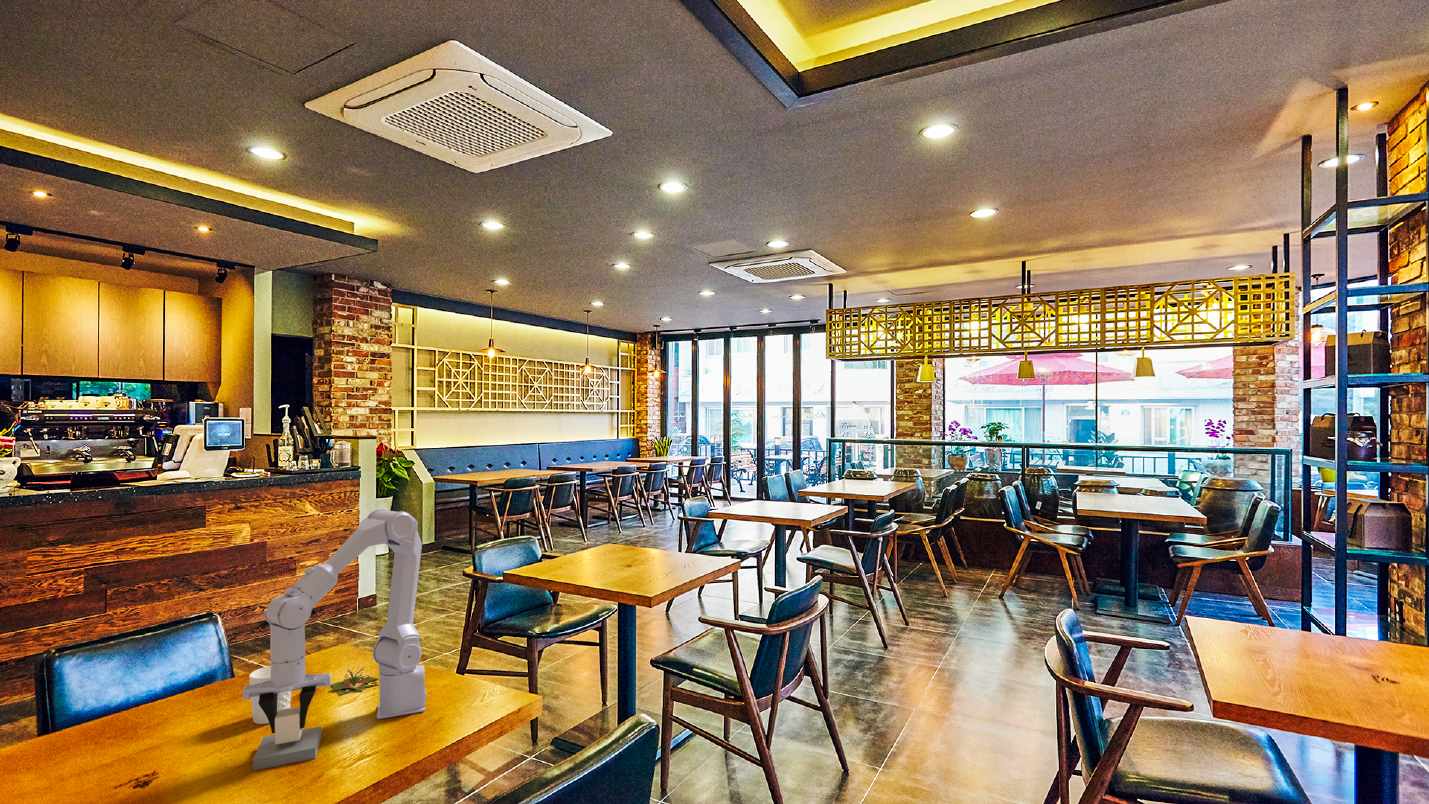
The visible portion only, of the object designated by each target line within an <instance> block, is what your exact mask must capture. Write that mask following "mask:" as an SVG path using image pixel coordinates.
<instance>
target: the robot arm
mask: <svg viewBox="0 0 1429 804" xmlns="http://www.w3.org/2000/svg"><path fill="white" fill-rule="evenodd" d="M418 525H419V521H418V520H416V518H414V516H412V515H411V514H410V513H408V512H407V511H394V510H386V509H382V508H381V509H380V508H378V509H376V510H373V511H371V512H370V513H369V514H368V516H367V517H365V518H364V519H363V520H361V521H360V522H359V524H358V527H357V528H356V529H355V530H354V531H353V533H351V535H350V536H349V537H348V538H347V539H346V540H345V541H344V542H342V545H340V546H339V548H338V549H337V550H336V551H334V553H333V554H332V555H331V556H330V557H329V558H328V559H327V560H326V561H325V562H324V563H318V564H315V565H313V566H311V567H310V566H308V567H307V568H306V569H305V570H304V571H303V573H304V574H303V575H302V576H301V577H300V578H299V579H298V580H297V581H296V582H295V583H294V584H293V585H292V586H291V587H287V588H286V589H285V590H284V594H281V595H280V596H279V595H278V596H276V597H274V598H273V599H272V600H271V601H270V602H269V603H268V605H267V608H266V610H265V611H264V612H263V617H264V620H265V621H266V622H267V623H268V624H269V626H270V630H269V633H270V637H269V640H270V641H269V642H270V644H269V645H270V652H269V653H270V666H271V680H270V681H266V682H262V683H258V684H254V685H250V684H249V685H245V686H244V687H243V689H242V700H243V701H244V700H249V699H251V697H256V696H259V701H258V703H259V706H260V707H261V708H262V710H263V711H264V713H265V715H266V716H267V719H268V721H269V723H268V724H269V727H270V730H271V731H270V732H271V734H272V735H274V734H275V717H276V715H277V697H278V693H282V692H288V691H291V692H293V691H299V690H300V692H299V694H298V697H299V707H300V729H301V728H302V729H305V726H306V721H307V714H308V711H309V706H310V705H311V702H312V700H313V697H314V696H315V693H316V690H317V688H319V687H324V688H327V687H331V686H332V685H331V684H332V673H331V672H329V673H316V674H314V673H313V674H306V630H305V629H306V628H305V625H306V624H305V623H307V622H309V619H310V618H311V615H312V610H313V608H314V607H315V606H316V605H317V604H318V603H319V602H320V601H321V600H322V599H323V598H324V597H325V596H326V595H327V594H328V593H329V591H331V590H333V588H334V587H335V586H336V585H337V583H338V581H339V579H338V578H339V574H340V573H341V572H342V571H344V569H345V568H347V567H348V566H349V565H350V564H351V563H352V562H354V561H355V560H356V559H357V558H358V557H360V555H362V553H364V551H366V550H367V549H368V548H369V547H373V546H378V545H383V544H386V546H388V547H389V548H390V550H392V551H393V553H394V557H393V564H392V572H391V581H390V589H389V599H388V606H387V616H386V624H385V625H383V627H382V628H381V629H380V630H379V632H378V637H377V640H376V642H375V643H374V646H373V649H372V659H373V661H375V662H376V663H377V664H378V669H379V670H378V677H379V679H378V680H379V681H378V684H379V685H378V686H379V692H378V693H379V696H378V697H379V703H378V704H377V712H376V720H381V719H382V720H383V719H386V718H387V719H388V718H393V717H394V718H395V717H398V716H404V715H411V714H416V713H421V712H425V711H426V700H427V689H426V685H425V681H426V680H425V677H426V676H425V675H426V674H425V672H426V671H425V665H424V664H423V665H422V664H420V665H419V663H420V661H421V657H422V647H421V645H420V634H419V632H418V630H417V629H416V627H415V626H414V619H415V611H416V610H415V609H416V601H417V593H418V582H419V573H420V564H421V558H422V557H421V556H422V549H423V548H422V547H423V543H422V540H421V537H420V534H419V531H418Z"/></svg>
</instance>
